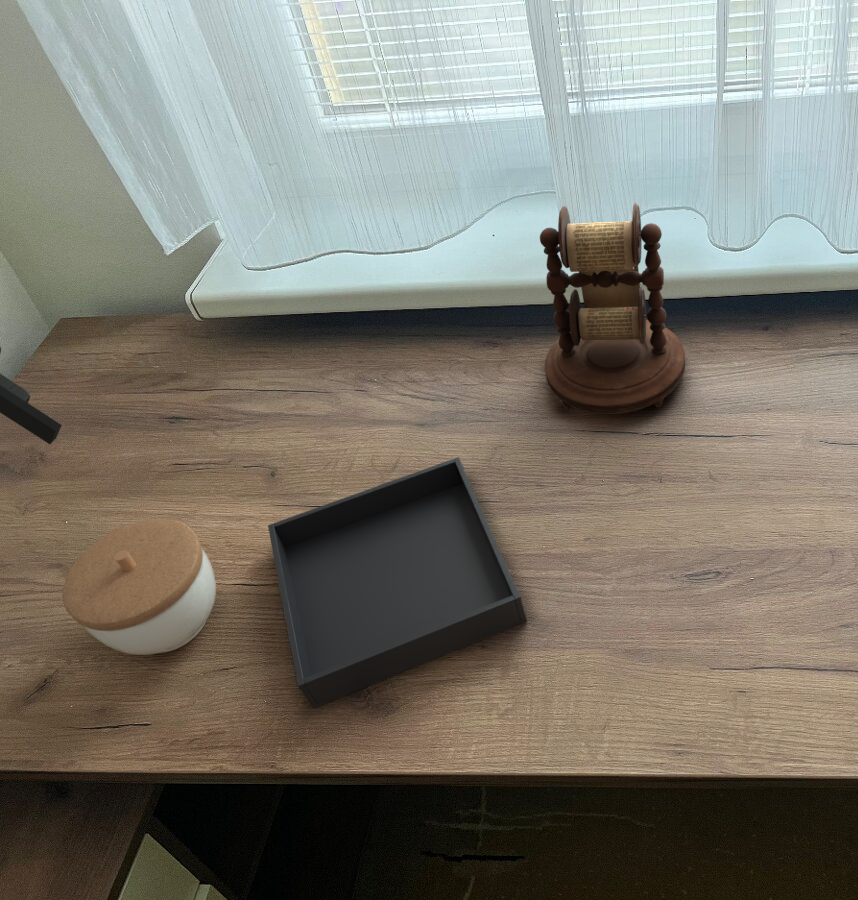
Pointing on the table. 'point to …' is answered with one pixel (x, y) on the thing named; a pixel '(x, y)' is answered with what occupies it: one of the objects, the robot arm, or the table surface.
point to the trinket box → (142, 587)
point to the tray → (390, 581)
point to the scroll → (609, 317)
